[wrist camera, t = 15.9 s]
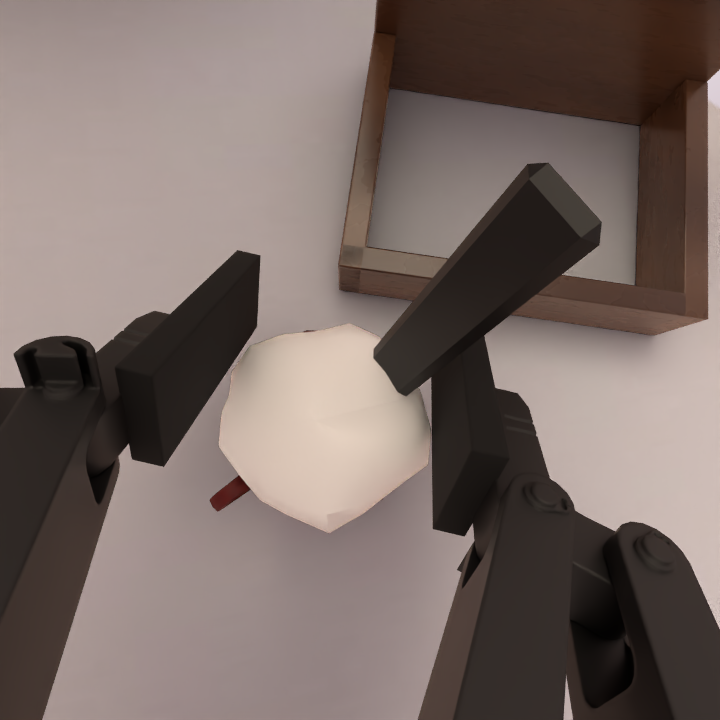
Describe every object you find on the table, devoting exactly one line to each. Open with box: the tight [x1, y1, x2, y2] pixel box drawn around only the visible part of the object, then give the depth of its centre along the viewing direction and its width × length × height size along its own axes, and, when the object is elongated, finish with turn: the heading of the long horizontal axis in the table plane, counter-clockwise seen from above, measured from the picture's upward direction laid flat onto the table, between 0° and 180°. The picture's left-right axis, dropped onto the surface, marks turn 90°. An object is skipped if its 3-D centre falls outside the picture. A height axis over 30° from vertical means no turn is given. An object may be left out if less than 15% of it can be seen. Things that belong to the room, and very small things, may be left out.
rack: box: [338, 0, 720, 335], centre depth 14 cm, size 13×15×15 cm
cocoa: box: [210, 163, 602, 533], centre depth 12 cm, size 10×6×12 cm, turn 104°
